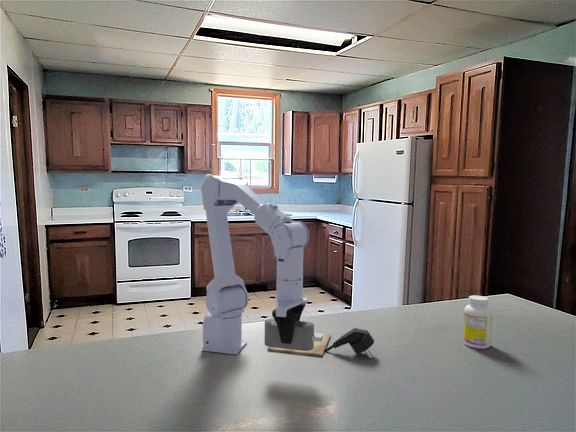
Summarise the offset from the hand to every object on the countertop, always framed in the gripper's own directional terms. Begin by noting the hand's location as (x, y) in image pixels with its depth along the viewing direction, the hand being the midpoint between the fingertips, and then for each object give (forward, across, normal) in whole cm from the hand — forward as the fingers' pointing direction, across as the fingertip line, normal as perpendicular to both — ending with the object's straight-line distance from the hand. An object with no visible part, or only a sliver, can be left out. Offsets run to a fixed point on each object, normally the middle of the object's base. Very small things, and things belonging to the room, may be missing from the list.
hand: (288, 339), depth 90 cm
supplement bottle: (+9, +31, -44) cm, 55 cm away
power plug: (+9, +16, -12) cm, 21 cm away
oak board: (+8, +19, +2) cm, 21 cm away
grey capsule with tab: (+1, 0, 0) cm, 1 cm away
